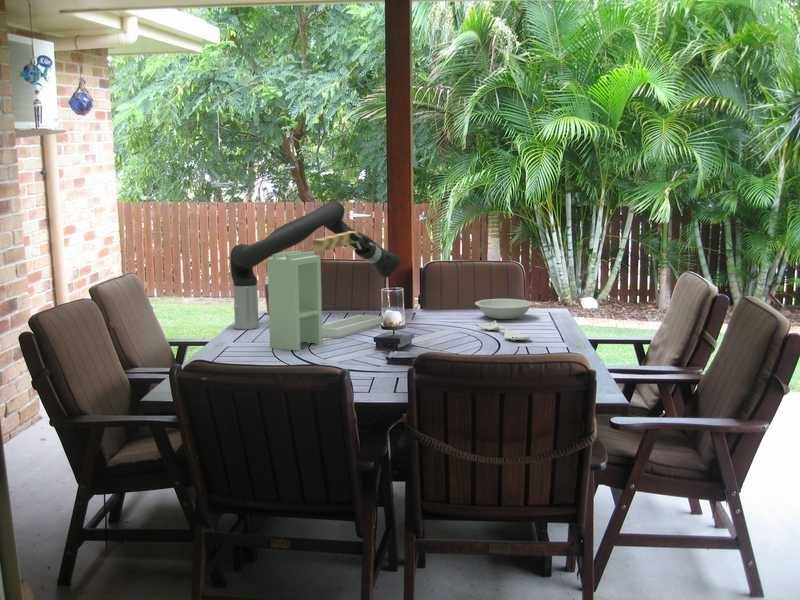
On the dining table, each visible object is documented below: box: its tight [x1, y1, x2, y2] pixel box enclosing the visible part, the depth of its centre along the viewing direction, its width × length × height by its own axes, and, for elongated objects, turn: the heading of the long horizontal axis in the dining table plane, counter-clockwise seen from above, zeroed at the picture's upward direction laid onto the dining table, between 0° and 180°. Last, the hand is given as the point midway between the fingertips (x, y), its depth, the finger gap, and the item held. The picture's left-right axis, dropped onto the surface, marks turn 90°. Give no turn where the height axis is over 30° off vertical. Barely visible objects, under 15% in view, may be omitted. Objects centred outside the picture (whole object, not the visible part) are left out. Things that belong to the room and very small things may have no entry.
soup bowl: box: [474, 298, 534, 320], centre depth 375 cm, size 24×24×7 cm
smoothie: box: [264, 277, 269, 315], centre depth 391 cm, size 8×8×20 cm
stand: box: [266, 250, 323, 352], centre depth 322 cm, size 15×12×34 cm
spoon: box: [474, 320, 531, 341], centre depth 339 cm, size 9×32×3 cm, turn 21°
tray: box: [322, 314, 383, 340], centre depth 352 cm, size 31×11×4 cm, turn 148°
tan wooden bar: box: [312, 230, 359, 252], centre depth 340 cm, size 24×4×4 cm, turn 149°
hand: (346, 234), depth 345 cm, fingers closed on tan wooden bar, 4 cm apart
